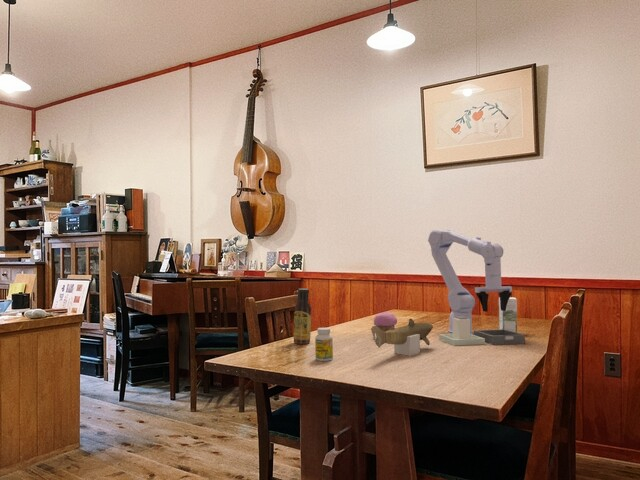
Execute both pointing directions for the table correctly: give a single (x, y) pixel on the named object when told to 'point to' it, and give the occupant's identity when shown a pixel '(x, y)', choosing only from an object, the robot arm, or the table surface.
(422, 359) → the table surface
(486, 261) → the robot arm
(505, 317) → the syrup box
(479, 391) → the table surface
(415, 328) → the wood carving
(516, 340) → the gray rectangular frame
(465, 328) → the module block
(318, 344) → the supplement bottle
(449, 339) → the tray
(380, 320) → the cupcake
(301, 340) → the sauce bottle
